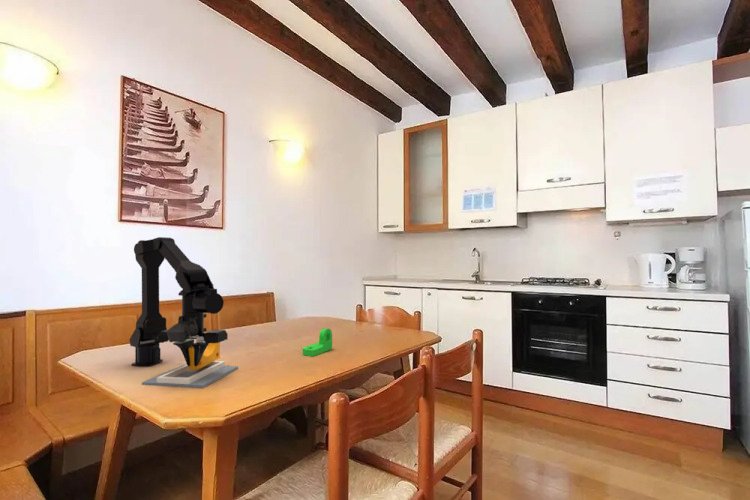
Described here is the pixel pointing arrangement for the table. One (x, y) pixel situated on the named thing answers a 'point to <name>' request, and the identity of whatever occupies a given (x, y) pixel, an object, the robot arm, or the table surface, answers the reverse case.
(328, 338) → the mechanical part
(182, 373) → the jig board
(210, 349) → the pipe clamp
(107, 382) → the table surface
